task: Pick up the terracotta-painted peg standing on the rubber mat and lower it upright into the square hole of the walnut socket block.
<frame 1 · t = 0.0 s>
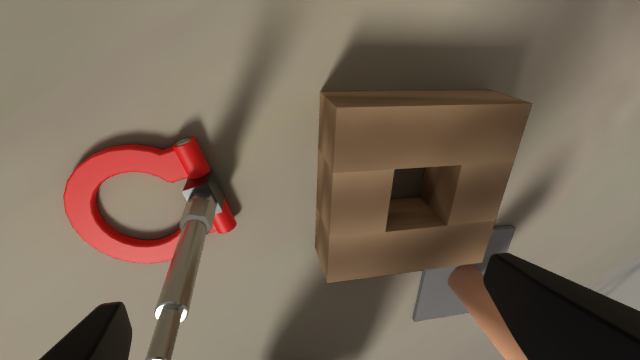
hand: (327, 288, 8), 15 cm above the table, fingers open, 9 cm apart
tow hook: (152, 200, 22), on the table
socket block: (396, 172, 25), on the table
peg: (462, 276, 31), resting on mat
mat: (460, 274, 31), on the table
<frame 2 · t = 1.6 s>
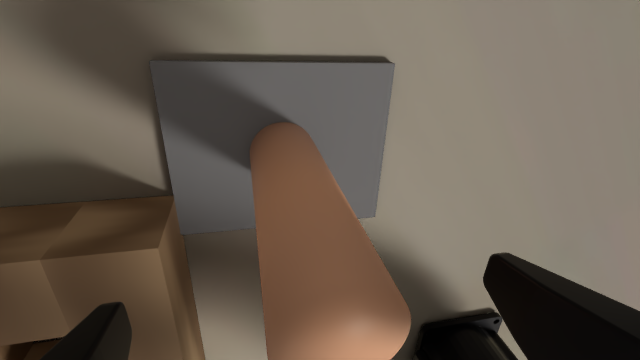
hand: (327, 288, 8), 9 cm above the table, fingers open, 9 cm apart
socket block: (69, 306, 17), on the table
peg: (282, 153, 15), resting on mat
mat: (281, 150, 16), on the table
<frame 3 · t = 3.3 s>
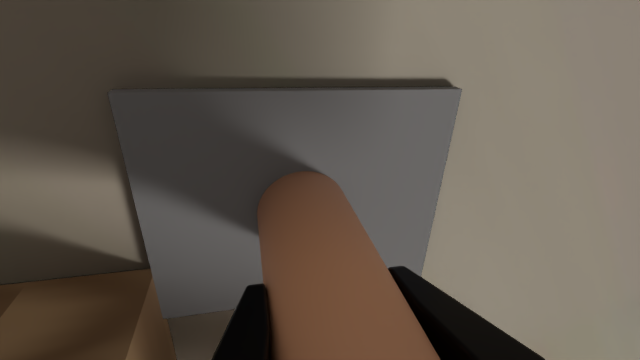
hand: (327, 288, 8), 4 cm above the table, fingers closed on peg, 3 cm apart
peg: (302, 211, 11), resting on mat, touching gripper
mat: (300, 205, 12), on the table
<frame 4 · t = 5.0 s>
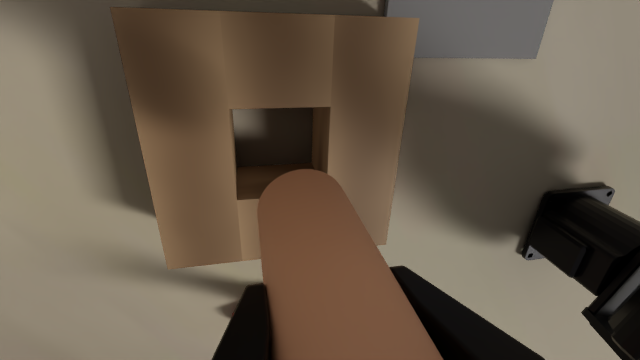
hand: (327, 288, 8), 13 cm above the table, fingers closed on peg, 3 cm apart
socket block: (274, 129, 19), on the table
peg: (302, 210, 11), point 9 cm above the table, touching gripper
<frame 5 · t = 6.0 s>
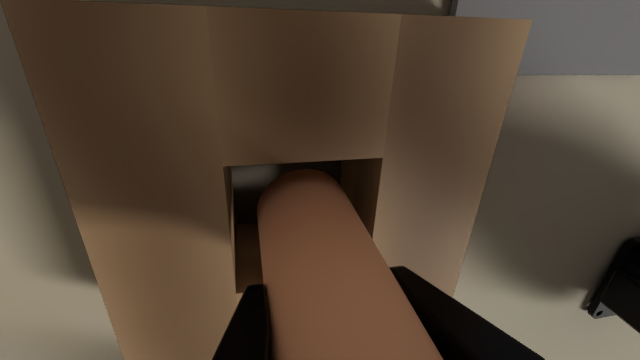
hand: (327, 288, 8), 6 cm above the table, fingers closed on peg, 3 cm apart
socket block: (288, 173, 14), on the table
peg: (302, 210, 11), point 3 cm above the table, touching gripper
when the fingers open (5 cm above the table, at t = 6.9 s): peg drops 2 cm, resting in socket block.
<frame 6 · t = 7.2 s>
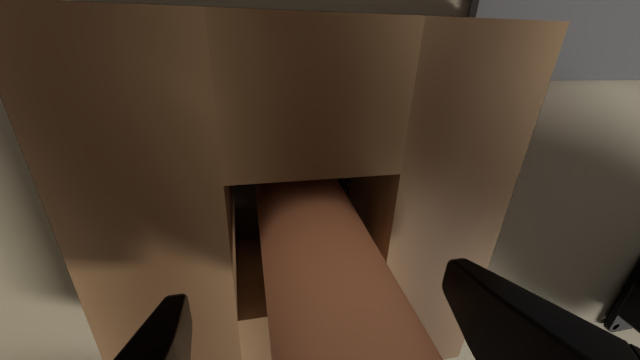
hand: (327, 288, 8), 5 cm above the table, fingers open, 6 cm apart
socket block: (293, 186, 13), on the table
peg: (294, 184, 13), resting in socket block
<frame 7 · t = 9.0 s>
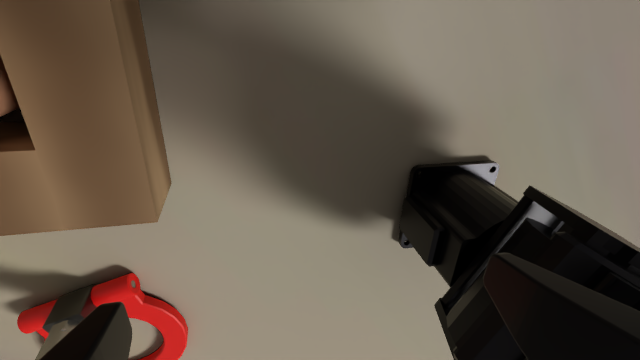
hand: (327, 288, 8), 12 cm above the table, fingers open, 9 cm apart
tow hook: (121, 327, 23), on the table
socket block: (6, 72, 15), on the table
peg: (7, 71, 15), resting in socket block
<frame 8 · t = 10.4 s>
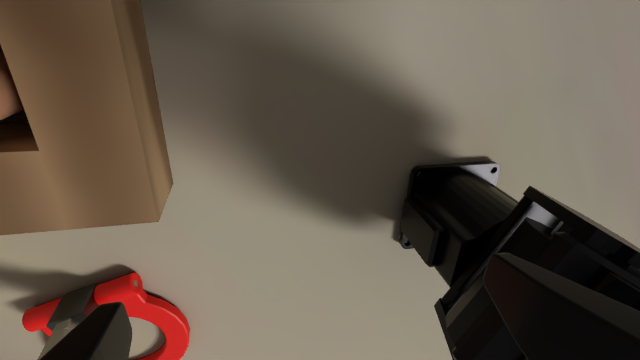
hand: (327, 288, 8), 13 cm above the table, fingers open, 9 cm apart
tow hook: (123, 326, 23), on the table
socket block: (11, 75, 15), on the table
peg: (12, 73, 15), resting in socket block
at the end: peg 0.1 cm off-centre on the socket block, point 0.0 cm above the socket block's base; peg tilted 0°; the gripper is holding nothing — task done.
